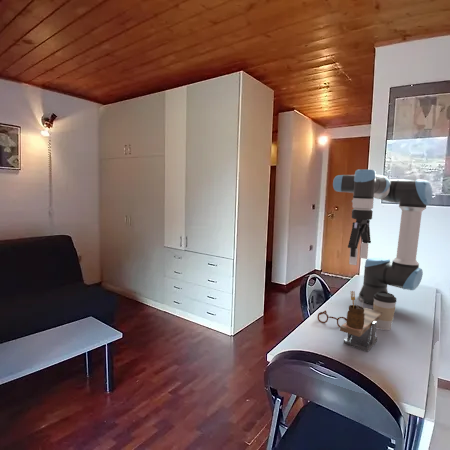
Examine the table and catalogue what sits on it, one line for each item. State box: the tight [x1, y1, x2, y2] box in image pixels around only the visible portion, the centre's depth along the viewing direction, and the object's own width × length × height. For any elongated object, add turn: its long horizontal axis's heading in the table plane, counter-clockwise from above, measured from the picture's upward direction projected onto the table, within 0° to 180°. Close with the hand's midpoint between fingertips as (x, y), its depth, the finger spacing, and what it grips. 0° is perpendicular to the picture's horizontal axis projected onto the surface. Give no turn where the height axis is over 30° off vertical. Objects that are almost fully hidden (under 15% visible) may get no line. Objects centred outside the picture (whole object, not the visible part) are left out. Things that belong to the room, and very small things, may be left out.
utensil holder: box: [346, 290, 365, 329], centre depth 119 cm, size 6×6×12 cm
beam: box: [339, 307, 383, 337], centre depth 126 cm, size 28×7×2 cm, turn 140°
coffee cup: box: [372, 291, 397, 331], centre depth 142 cm, size 9×9×15 cm
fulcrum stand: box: [342, 321, 378, 353], centre depth 127 cm, size 12×9×10 cm
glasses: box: [316, 309, 347, 328], centre depth 147 cm, size 13×13×5 cm
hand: (358, 261), depth 132 cm, fingers open, 13 cm apart
